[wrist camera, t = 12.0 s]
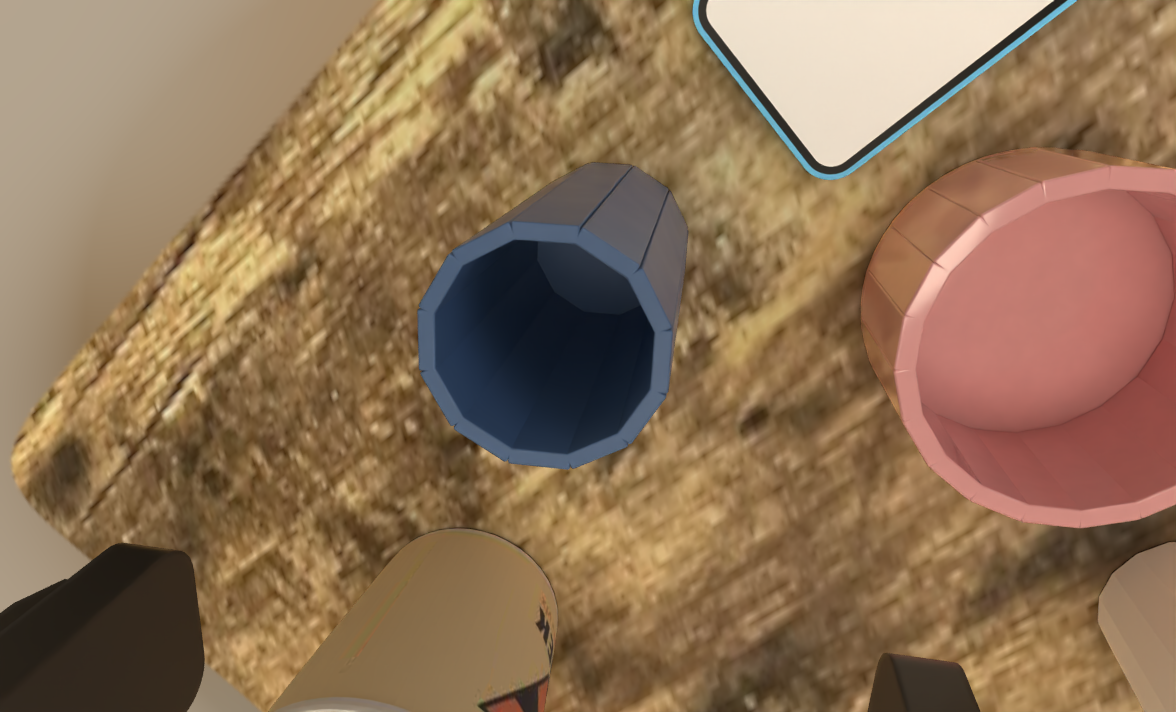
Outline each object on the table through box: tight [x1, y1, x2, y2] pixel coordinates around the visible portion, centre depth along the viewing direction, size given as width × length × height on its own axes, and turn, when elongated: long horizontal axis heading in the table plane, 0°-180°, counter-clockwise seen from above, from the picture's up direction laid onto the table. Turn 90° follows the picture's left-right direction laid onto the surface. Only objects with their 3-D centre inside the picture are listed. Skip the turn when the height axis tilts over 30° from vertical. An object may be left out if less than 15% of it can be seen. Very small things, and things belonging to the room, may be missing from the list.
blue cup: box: [418, 162, 688, 469], centre depth 24 cm, size 6×6×12 cm
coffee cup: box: [268, 528, 558, 712], centre depth 29 cm, size 9×9×12 cm
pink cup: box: [860, 147, 1176, 528], centre depth 25 cm, size 10×10×6 cm
